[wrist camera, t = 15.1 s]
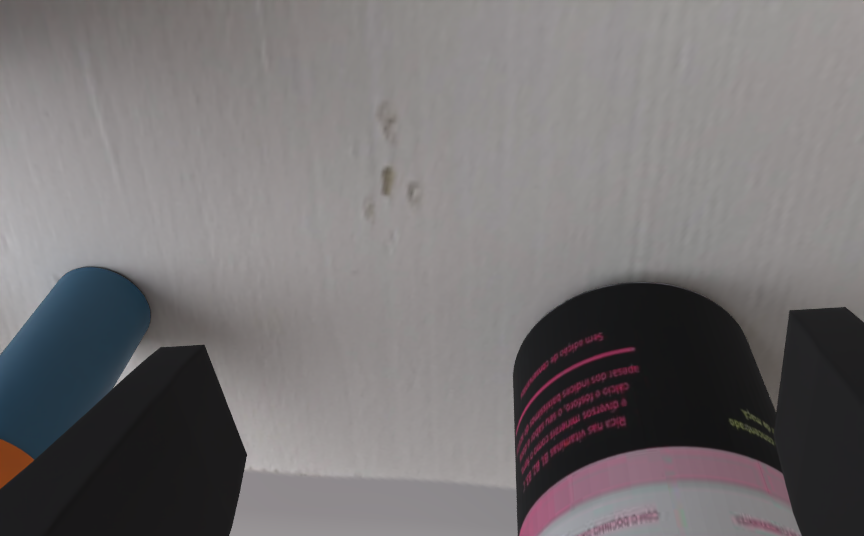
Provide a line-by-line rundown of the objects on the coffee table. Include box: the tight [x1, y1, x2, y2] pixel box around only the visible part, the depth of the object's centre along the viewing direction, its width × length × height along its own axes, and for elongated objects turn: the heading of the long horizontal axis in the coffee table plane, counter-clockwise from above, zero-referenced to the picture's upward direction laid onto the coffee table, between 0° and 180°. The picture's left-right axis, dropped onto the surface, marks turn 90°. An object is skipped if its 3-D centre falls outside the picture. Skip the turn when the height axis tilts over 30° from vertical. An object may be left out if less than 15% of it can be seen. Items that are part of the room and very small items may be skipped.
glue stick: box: [0, 267, 151, 489], centre depth 20 cm, size 3×3×8 cm
